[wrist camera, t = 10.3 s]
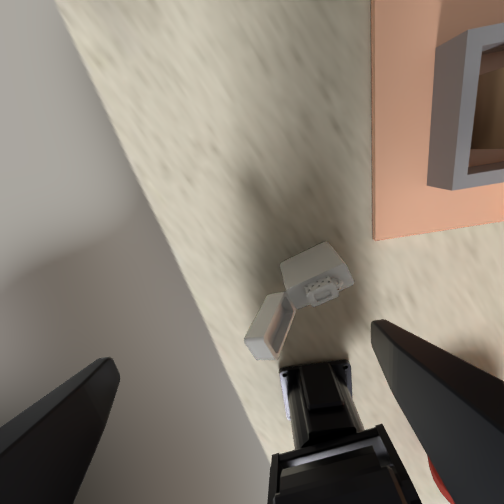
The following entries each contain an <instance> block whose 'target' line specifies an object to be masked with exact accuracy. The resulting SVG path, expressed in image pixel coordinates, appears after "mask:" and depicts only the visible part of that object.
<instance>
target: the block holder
mask: <svg viewBox="0 0 504 504" xmlns="http://www.w3.org/2000/svg"><path fill="white" fill-rule="evenodd" d="M371 63H372V228H373V240H375V241H378V240H385V239H391V238H398V237H404V236H410V235H417V234H423V233H430V232H436V231H443V230H449V229H456V228H462V227H469V226H475V225H482V224H488V223H494V222H501V221H504V149H470V148H471V140H472V131H473V122H474V114H475V105H476V97H477V88H478V80H479V75H482V74H485V73H488V72H491V71H494V70H497V69H500V68H503V67H504V0H371Z"/></svg>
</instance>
